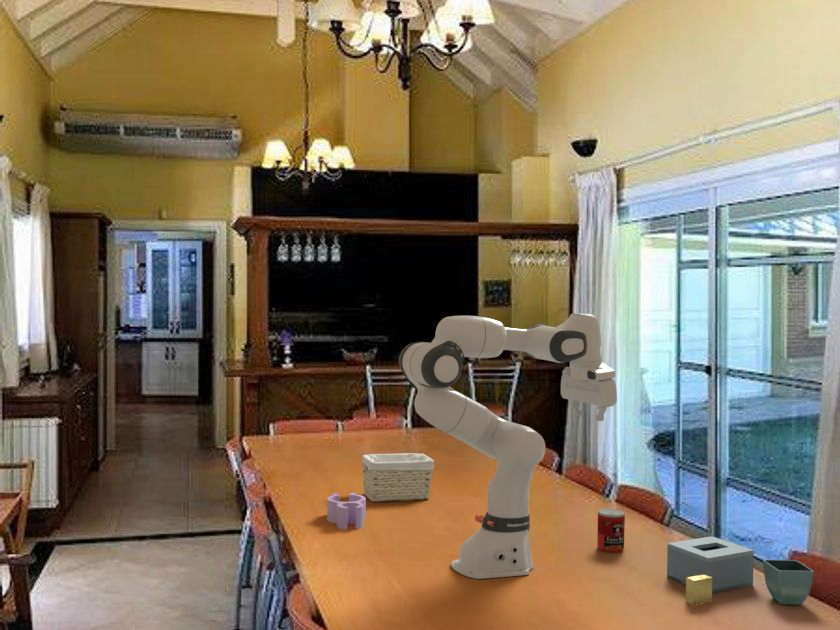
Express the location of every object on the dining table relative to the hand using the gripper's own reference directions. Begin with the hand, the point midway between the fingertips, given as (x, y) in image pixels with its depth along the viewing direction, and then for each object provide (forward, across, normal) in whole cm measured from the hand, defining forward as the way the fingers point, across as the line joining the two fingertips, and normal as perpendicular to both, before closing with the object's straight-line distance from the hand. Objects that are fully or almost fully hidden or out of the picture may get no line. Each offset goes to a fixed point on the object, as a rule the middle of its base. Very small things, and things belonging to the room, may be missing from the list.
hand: (588, 418), depth 240 cm
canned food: (+40, 0, +6) cm, 41 cm away
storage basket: (+40, -84, -20) cm, 95 cm away
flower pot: (+40, +52, +15) cm, 67 cm away
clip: (+36, -62, -50) cm, 87 cm away
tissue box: (+40, +33, +10) cm, 52 cm away
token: (+38, +42, -4) cm, 57 cm away
